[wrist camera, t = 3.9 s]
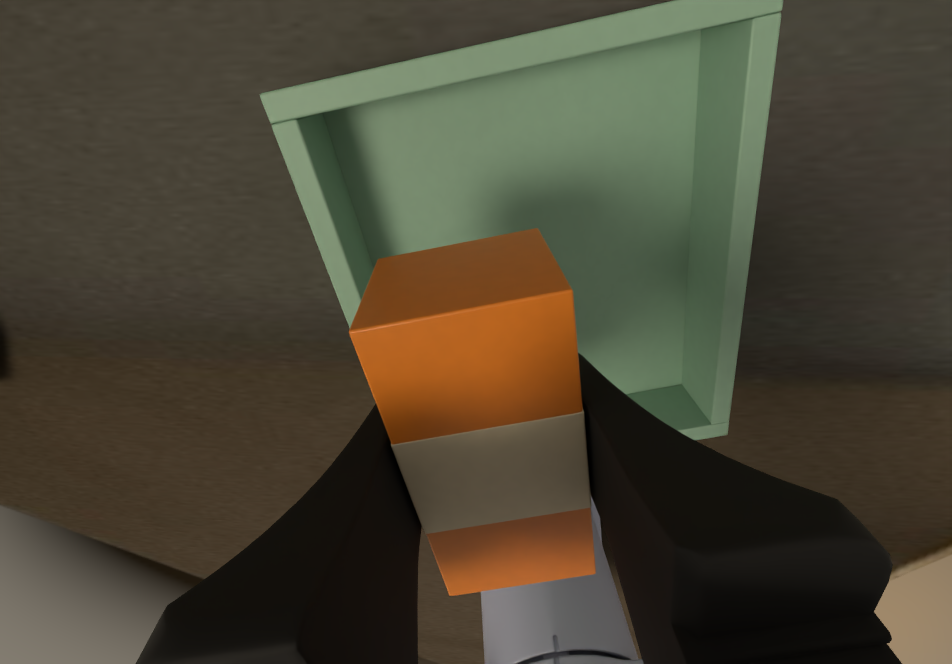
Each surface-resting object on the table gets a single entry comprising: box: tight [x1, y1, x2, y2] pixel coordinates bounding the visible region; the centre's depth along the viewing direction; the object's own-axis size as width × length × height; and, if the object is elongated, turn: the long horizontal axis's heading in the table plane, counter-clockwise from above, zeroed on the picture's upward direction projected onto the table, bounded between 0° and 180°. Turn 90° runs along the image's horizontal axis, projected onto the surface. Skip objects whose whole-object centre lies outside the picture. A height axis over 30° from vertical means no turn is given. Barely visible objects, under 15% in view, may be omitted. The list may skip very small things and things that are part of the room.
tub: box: [260, 0, 783, 440], centre depth 18 cm, size 17×15×4 cm
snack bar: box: [349, 228, 596, 596], centre depth 11 cm, size 8×4×4 cm, turn 10°
